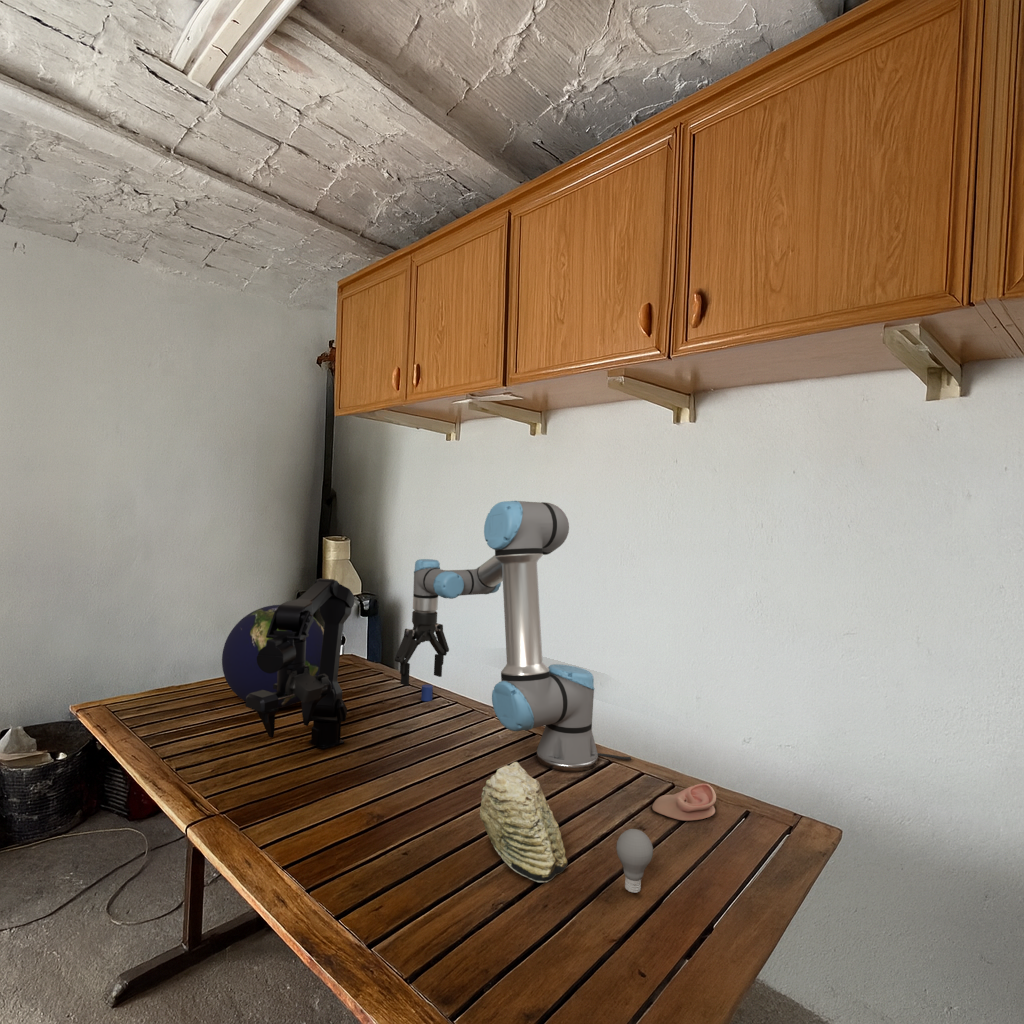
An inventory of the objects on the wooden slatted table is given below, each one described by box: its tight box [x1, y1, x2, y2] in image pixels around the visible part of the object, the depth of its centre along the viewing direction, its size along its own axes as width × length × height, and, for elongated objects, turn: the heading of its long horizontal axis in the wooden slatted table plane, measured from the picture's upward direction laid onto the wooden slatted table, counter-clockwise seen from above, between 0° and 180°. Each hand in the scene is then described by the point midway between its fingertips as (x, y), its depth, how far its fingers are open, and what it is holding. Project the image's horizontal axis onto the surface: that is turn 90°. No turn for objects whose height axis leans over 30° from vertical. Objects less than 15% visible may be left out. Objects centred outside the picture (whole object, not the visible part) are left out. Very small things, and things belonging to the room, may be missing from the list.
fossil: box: [479, 761, 569, 883], centre depth 114 cm, size 9×18×15 cm, turn 46°
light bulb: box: [615, 828, 654, 894], centre depth 106 cm, size 6×6×10 cm
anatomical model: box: [651, 783, 717, 822], centre depth 135 cm, size 13×4×12 cm
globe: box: [221, 604, 324, 709], centre depth 188 cm, size 30×30×30 cm
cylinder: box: [420, 683, 434, 702], centre depth 201 cm, size 4×4×4 cm
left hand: (289, 731), depth 140 cm, fingers open, 9 cm apart
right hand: (421, 680), depth 192 cm, fingers open, 13 cm apart
